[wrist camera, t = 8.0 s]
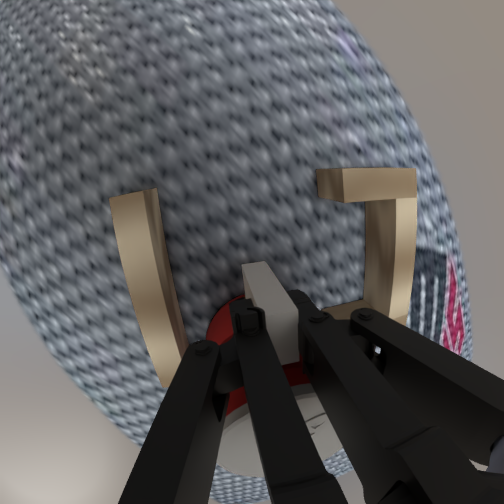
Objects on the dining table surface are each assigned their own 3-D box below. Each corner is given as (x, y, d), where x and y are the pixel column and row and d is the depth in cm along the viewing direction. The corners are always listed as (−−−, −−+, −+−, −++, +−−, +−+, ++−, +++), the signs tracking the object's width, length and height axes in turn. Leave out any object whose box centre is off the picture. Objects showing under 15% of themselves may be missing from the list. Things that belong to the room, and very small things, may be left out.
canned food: (319, 309, 21) (392, 401, 11) (268, 379, 23) (302, 480, 12) (236, 269, 19) (270, 373, 9) (189, 352, 21) (186, 468, 10)
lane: (129, 193, 17) (109, 197, 13) (383, 167, 19) (416, 168, 15) (167, 355, 20) (162, 387, 17) (379, 313, 23) (403, 334, 19)
